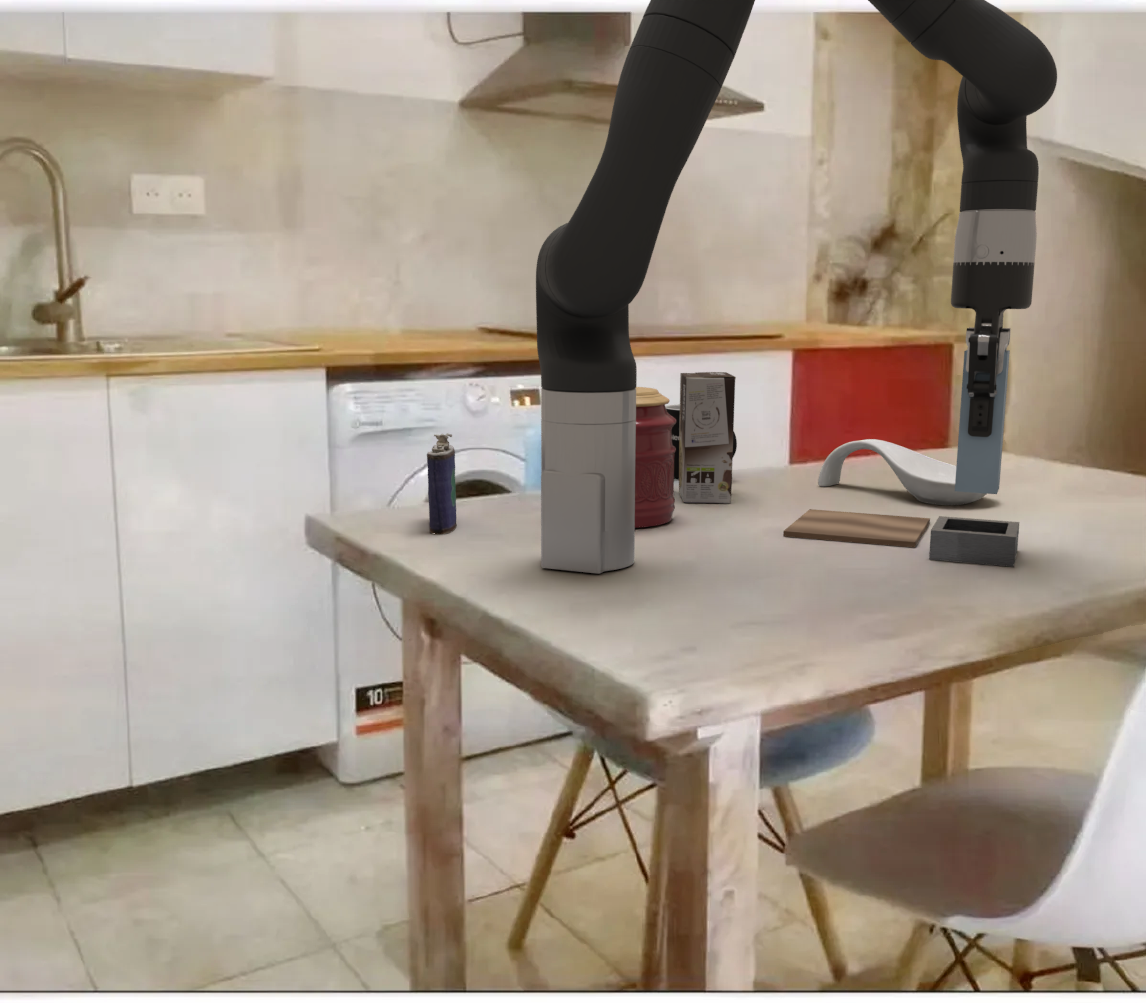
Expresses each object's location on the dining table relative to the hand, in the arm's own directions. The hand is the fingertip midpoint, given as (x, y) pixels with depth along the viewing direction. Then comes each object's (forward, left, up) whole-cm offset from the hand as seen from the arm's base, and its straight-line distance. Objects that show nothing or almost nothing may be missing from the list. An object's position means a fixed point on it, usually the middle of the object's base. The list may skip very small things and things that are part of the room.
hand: (981, 432), depth 116 cm
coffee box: (+21, +35, -13) cm, 43 cm away
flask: (-9, +57, -13) cm, 59 cm away
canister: (+3, +40, -13) cm, 42 cm away
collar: (0, 0, -13) cm, 13 cm away
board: (+8, +13, -13) cm, 20 cm away
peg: (0, 0, -6) cm, 6 cm away
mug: (+36, +40, -13) cm, 55 cm away
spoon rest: (+33, +11, -13) cm, 37 cm away
